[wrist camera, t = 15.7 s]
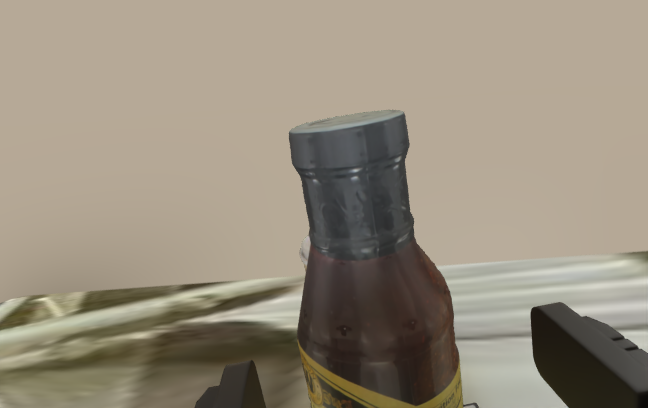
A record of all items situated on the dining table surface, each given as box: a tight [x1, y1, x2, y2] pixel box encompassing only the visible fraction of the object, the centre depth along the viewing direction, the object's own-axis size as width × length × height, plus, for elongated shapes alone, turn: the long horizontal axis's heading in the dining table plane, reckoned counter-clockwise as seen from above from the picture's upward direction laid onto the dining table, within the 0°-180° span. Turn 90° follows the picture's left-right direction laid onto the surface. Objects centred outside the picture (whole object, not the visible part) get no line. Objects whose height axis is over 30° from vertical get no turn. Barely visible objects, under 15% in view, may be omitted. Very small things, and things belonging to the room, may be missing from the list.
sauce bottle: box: [289, 110, 463, 408], centre depth 16 cm, size 7×6×20 cm
